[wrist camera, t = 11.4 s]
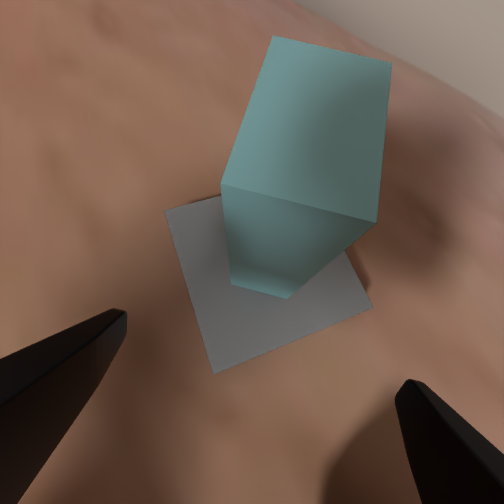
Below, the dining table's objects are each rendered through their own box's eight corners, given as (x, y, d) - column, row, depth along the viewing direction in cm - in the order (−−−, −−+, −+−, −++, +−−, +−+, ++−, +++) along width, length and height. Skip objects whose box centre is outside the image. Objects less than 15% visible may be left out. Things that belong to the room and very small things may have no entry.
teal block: (231, 284, 18) (220, 183, 6) (252, 210, 20) (273, 35, 8) (286, 299, 18) (376, 223, 6) (302, 223, 20) (392, 62, 8)
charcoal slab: (214, 369, 18) (213, 374, 16) (171, 227, 22) (164, 210, 19) (353, 312, 21) (373, 307, 18) (295, 192, 24) (305, 173, 22)
